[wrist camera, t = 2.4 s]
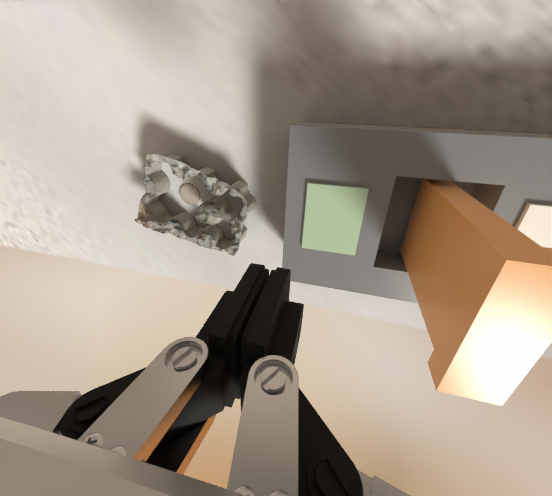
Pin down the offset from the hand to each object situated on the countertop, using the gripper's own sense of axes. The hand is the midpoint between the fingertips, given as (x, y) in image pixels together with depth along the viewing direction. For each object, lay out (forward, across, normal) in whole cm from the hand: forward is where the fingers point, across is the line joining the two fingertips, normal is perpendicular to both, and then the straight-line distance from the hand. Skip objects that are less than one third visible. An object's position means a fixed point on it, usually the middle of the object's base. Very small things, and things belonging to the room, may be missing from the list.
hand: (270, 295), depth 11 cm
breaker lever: (+12, -9, 0) cm, 15 cm away
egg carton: (+15, +10, +1) cm, 19 cm away
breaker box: (+14, -9, 0) cm, 17 cm away
